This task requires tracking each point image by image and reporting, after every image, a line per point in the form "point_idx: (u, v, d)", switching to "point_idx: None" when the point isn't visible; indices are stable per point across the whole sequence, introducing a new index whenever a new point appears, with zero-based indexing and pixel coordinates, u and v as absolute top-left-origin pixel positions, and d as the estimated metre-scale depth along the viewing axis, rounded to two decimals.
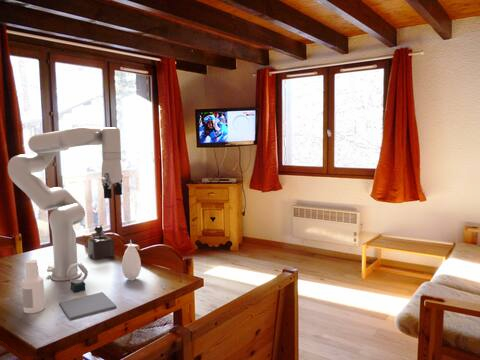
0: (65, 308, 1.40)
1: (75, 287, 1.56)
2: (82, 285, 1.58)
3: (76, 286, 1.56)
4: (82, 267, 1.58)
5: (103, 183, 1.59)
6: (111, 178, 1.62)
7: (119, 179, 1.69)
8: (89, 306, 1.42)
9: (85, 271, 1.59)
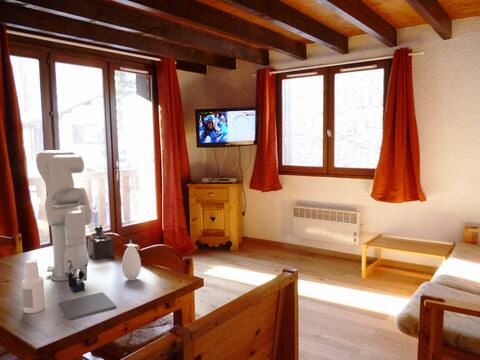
0: (65, 308, 1.40)
1: (74, 287, 1.56)
2: (81, 285, 1.57)
3: None
4: (81, 267, 1.57)
5: (67, 274, 1.52)
6: (74, 266, 1.53)
7: (85, 263, 1.60)
8: (89, 306, 1.42)
9: (84, 271, 1.58)
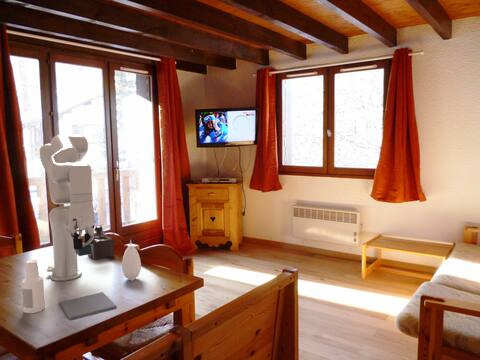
0: (65, 308, 1.40)
1: (80, 249, 1.40)
2: (88, 247, 1.41)
3: None
4: (87, 227, 1.42)
5: (72, 233, 1.36)
6: (80, 225, 1.37)
7: (91, 224, 1.45)
8: (89, 306, 1.42)
9: (91, 232, 1.42)
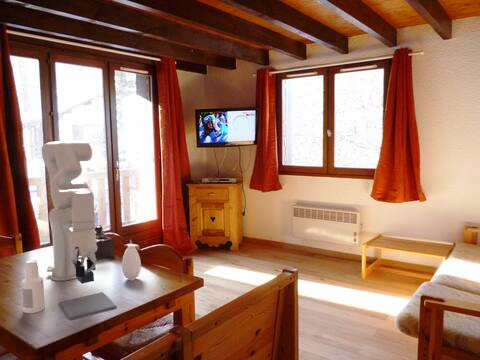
0: (65, 308, 1.40)
1: (82, 277, 1.39)
2: (90, 275, 1.41)
3: None
4: (90, 255, 1.41)
5: (74, 262, 1.35)
6: (82, 253, 1.37)
7: (93, 250, 1.44)
8: (89, 306, 1.42)
9: (93, 259, 1.41)
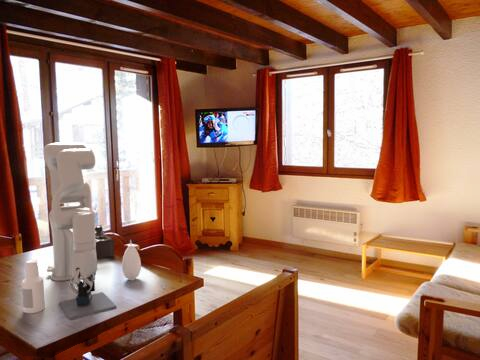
0: (65, 308, 1.40)
1: (77, 299, 1.40)
2: (85, 297, 1.41)
3: (78, 298, 1.40)
4: None
5: (76, 283, 1.37)
6: (83, 274, 1.38)
7: (94, 270, 1.45)
8: (89, 306, 1.42)
9: (87, 282, 1.41)
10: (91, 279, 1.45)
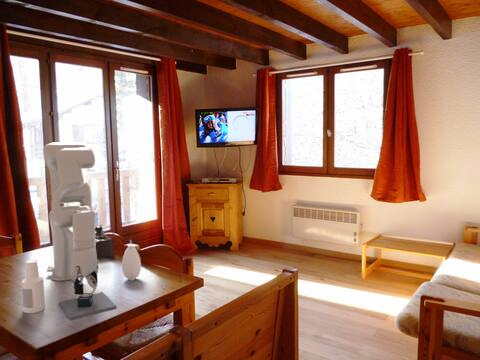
0: (65, 308, 1.40)
1: (78, 301, 1.40)
2: (86, 300, 1.41)
3: (80, 300, 1.40)
4: (88, 280, 1.41)
5: (73, 279, 1.35)
6: (83, 272, 1.38)
7: (94, 268, 1.45)
8: None
9: (91, 285, 1.41)
10: (95, 282, 1.45)
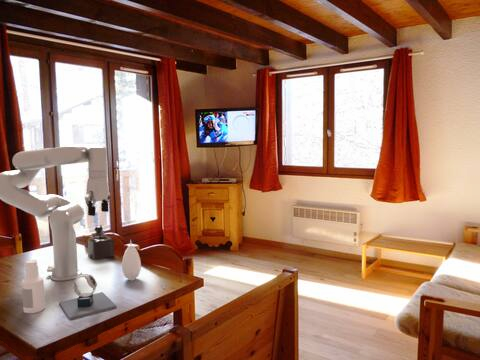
0: (65, 308, 1.40)
1: (78, 301, 1.40)
2: (86, 300, 1.41)
3: (79, 300, 1.40)
4: (87, 280, 1.41)
5: (86, 201, 1.63)
6: (95, 196, 1.65)
7: (105, 197, 1.72)
8: None
9: (90, 285, 1.41)
10: (95, 282, 1.45)
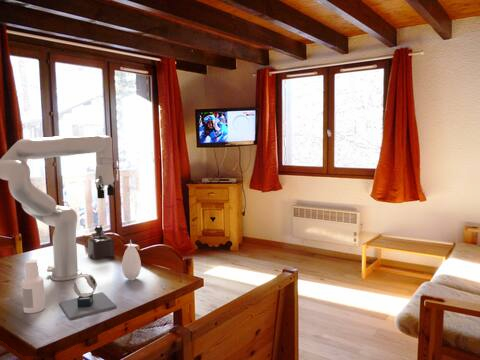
0: (65, 308, 1.40)
1: (78, 301, 1.40)
2: (86, 300, 1.41)
3: (79, 300, 1.40)
4: (87, 280, 1.41)
5: (96, 185, 1.82)
6: (104, 181, 1.84)
7: (111, 181, 1.91)
8: None
9: (91, 285, 1.41)
10: (95, 282, 1.45)
